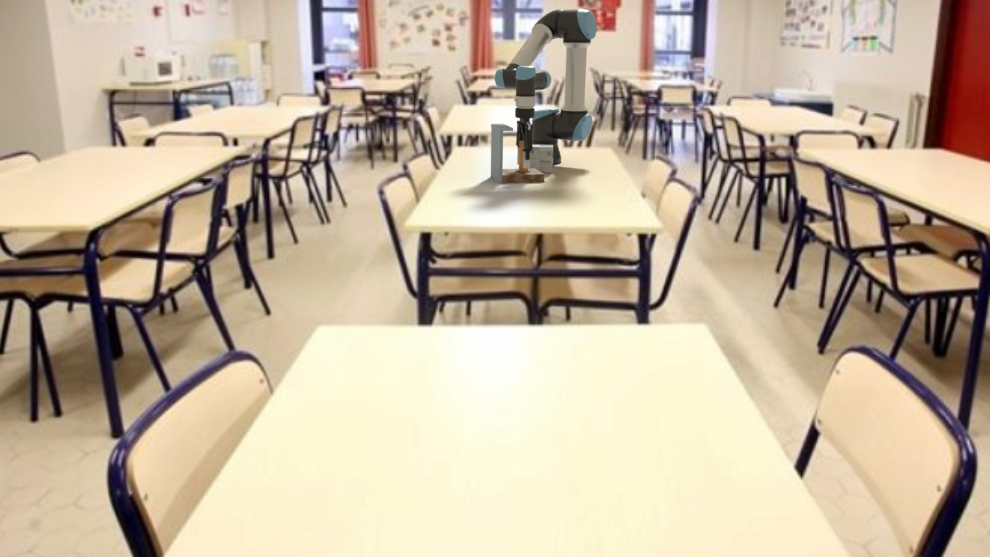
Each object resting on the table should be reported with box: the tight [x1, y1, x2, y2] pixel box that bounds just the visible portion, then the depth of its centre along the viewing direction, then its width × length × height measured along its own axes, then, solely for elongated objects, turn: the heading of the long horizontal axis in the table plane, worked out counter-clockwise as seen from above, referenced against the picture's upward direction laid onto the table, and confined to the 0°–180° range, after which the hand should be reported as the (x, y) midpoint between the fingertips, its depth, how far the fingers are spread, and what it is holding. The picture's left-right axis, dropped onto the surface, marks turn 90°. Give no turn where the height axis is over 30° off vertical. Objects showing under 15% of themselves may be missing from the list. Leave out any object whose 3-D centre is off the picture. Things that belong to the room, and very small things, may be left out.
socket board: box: [501, 168, 545, 184], centre depth 329 cm, size 17×14×3 cm
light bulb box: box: [530, 145, 554, 174], centre depth 347 cm, size 11×7×11 cm, turn 84°
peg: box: [518, 141, 528, 173], centre depth 327 cm, size 4×4×15 cm
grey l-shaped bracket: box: [490, 123, 514, 184], centre depth 324 cm, size 5×15×21 cm, turn 14°
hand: (523, 166), depth 328 cm, fingers open, 8 cm apart
